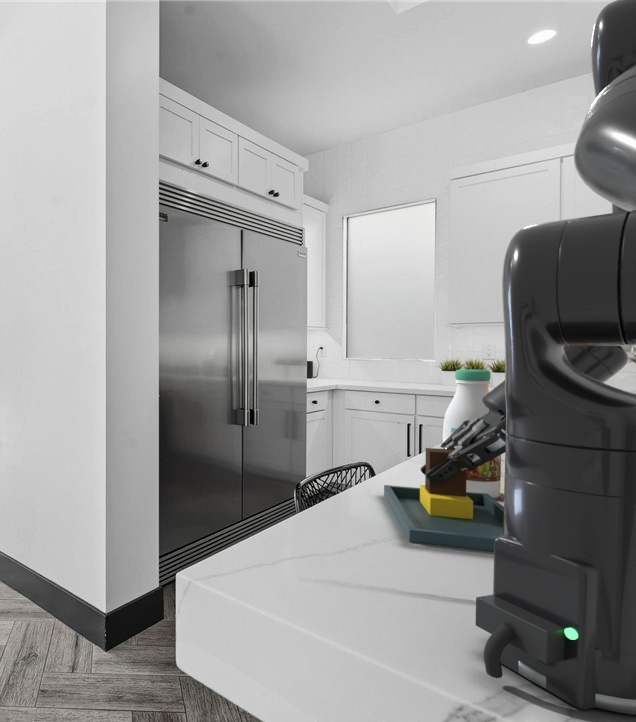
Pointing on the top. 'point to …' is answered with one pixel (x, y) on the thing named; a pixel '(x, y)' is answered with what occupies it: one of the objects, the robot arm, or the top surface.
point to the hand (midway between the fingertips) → (428, 477)
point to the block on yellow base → (445, 490)
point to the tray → (447, 521)
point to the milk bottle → (467, 408)
